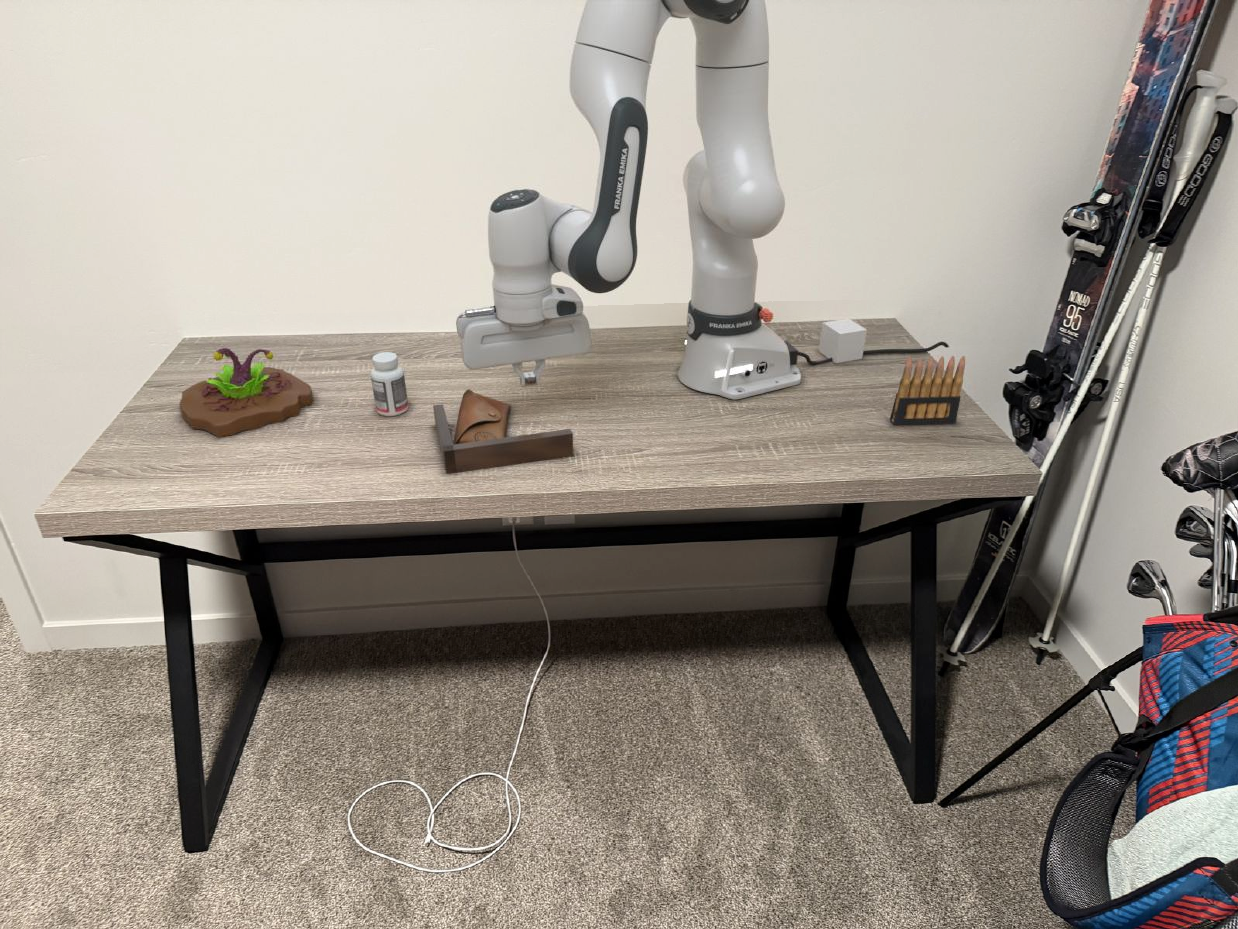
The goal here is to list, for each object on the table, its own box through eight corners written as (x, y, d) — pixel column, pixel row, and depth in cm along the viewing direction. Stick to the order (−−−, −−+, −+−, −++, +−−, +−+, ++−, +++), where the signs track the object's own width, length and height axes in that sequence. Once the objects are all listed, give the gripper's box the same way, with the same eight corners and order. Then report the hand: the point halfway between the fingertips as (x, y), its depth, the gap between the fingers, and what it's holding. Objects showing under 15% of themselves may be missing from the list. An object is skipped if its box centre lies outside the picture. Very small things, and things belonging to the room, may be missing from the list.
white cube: (835, 363, 162) (840, 334, 159) (818, 351, 167) (822, 322, 164) (862, 358, 164) (867, 329, 161) (844, 346, 169) (848, 318, 166)
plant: (162, 405, 145) (143, 345, 139) (270, 370, 157) (257, 313, 151) (216, 447, 134) (198, 383, 128) (328, 405, 146) (316, 345, 140)
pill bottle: (406, 400, 148) (399, 348, 143) (410, 414, 144) (403, 361, 138) (374, 405, 146) (366, 352, 141) (378, 419, 142) (369, 365, 137)
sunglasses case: (509, 456, 131) (484, 424, 128) (471, 477, 132) (446, 446, 129) (512, 402, 146) (489, 372, 143) (478, 422, 148) (455, 393, 144)
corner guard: (552, 411, 145) (551, 390, 143) (573, 456, 132) (572, 433, 130) (435, 426, 140) (433, 405, 138) (446, 474, 128) (443, 451, 126)
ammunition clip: (951, 418, 144) (967, 353, 138) (955, 423, 142) (971, 357, 136) (889, 420, 143) (902, 354, 137) (893, 425, 142) (906, 359, 135)
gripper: (457, 319, 124) (468, 403, 131) (593, 301, 129) (595, 383, 136) (451, 303, 129) (462, 385, 136) (582, 287, 134) (585, 367, 141)
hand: (530, 384), depth 136 cm, fingers closed
